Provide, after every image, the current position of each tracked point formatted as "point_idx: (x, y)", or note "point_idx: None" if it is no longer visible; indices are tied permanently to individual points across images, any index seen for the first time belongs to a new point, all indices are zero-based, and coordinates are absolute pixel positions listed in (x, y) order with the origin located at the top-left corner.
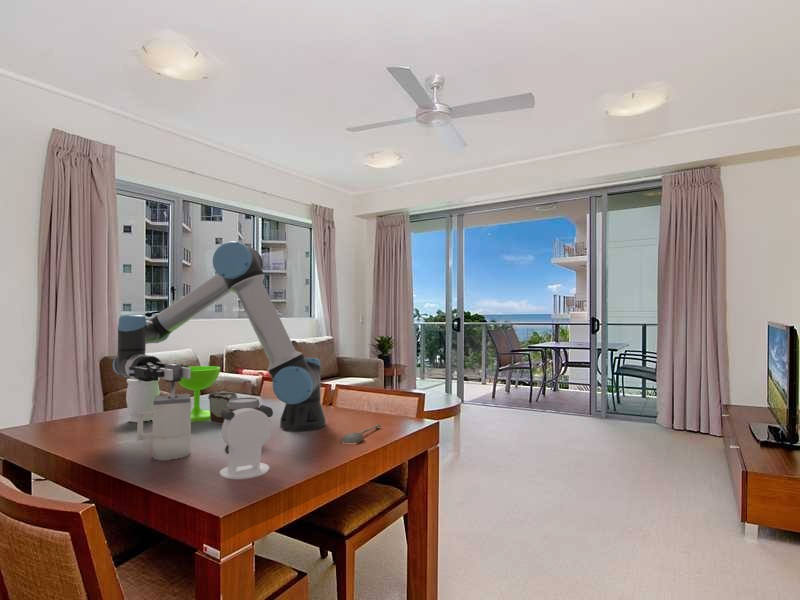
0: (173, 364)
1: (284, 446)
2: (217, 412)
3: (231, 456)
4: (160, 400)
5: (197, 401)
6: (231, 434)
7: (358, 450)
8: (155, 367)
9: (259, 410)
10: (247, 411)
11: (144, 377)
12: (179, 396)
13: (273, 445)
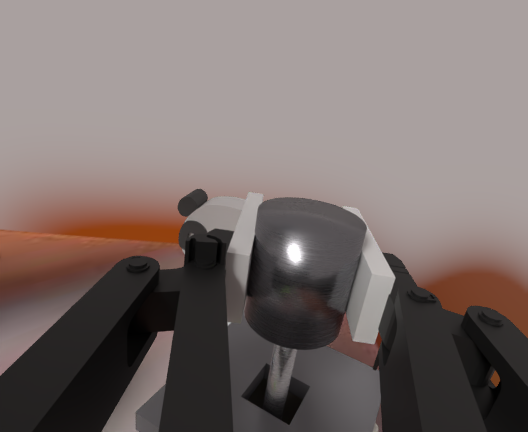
0: (302, 221)
1: (29, 337)
2: None
3: None
4: (358, 362)
5: None
6: None
7: (46, 243)
8: (418, 372)
9: (199, 205)
10: (241, 199)
11: (494, 398)
12: (241, 379)
13: None
